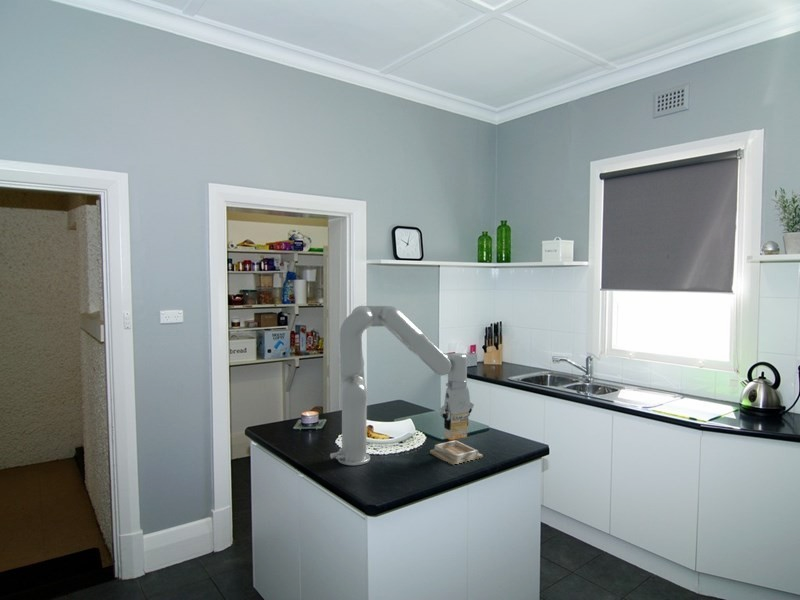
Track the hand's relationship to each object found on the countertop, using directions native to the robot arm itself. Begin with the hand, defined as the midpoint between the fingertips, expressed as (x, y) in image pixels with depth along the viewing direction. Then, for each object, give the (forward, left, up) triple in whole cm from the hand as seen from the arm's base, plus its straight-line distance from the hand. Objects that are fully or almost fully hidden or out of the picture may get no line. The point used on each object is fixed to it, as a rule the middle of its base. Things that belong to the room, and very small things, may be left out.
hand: (456, 427), depth 200 cm
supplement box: (0, 0, -4) cm, 5 cm away
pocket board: (0, 0, -12) cm, 12 cm away
